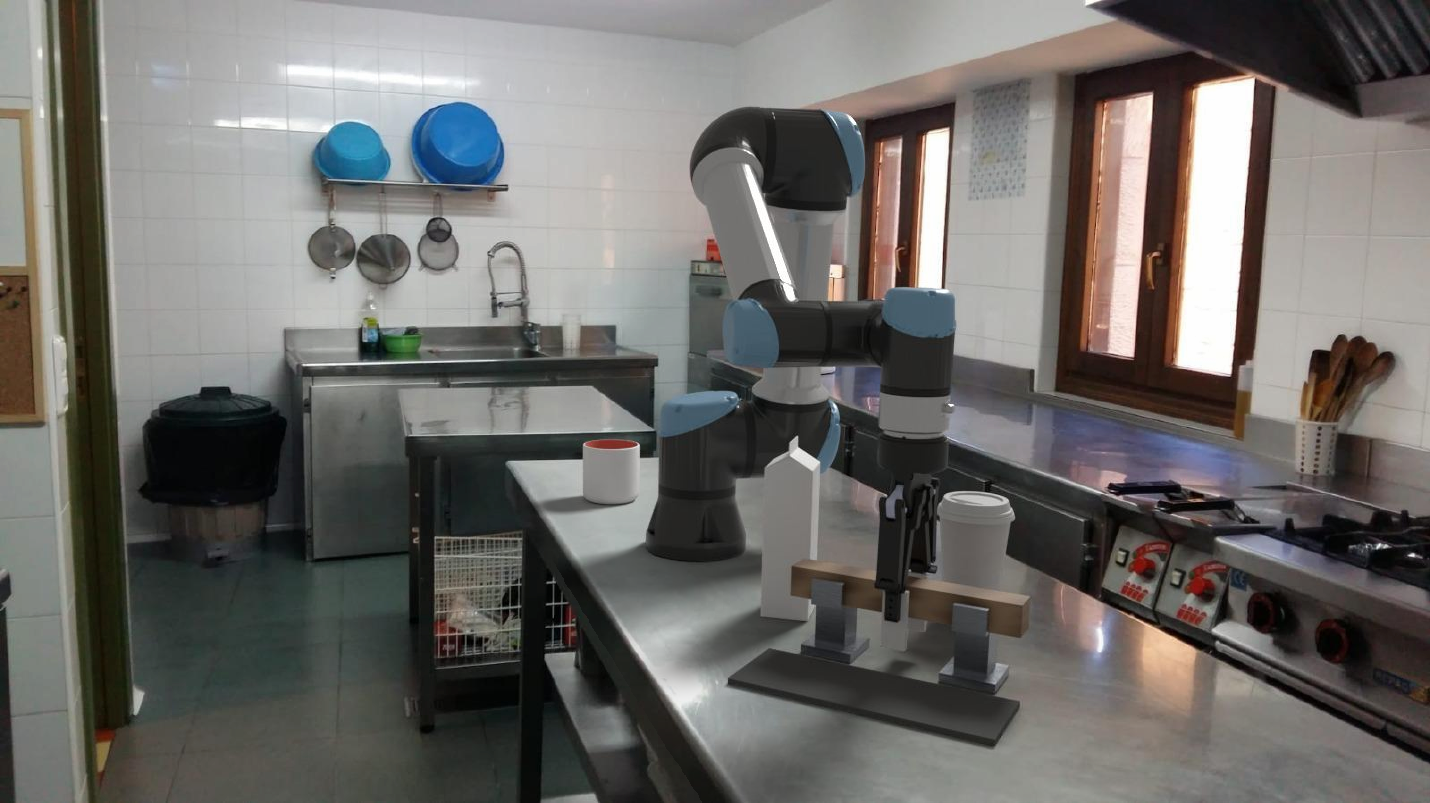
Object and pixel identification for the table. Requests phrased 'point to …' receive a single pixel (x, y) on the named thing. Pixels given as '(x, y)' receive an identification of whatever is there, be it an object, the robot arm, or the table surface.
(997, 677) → the post
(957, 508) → the coffee cup
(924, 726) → the mat
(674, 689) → the table surface
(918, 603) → the rail
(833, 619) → the post
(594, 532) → the table surface
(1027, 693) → the table surface
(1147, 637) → the table surface
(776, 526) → the milk
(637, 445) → the cup
